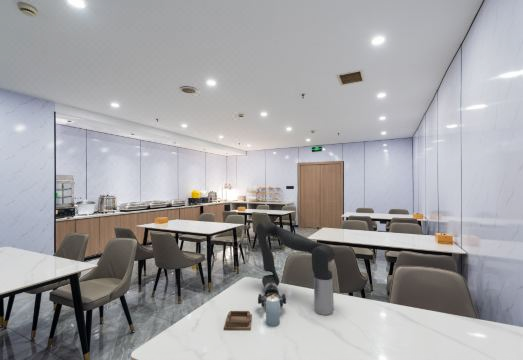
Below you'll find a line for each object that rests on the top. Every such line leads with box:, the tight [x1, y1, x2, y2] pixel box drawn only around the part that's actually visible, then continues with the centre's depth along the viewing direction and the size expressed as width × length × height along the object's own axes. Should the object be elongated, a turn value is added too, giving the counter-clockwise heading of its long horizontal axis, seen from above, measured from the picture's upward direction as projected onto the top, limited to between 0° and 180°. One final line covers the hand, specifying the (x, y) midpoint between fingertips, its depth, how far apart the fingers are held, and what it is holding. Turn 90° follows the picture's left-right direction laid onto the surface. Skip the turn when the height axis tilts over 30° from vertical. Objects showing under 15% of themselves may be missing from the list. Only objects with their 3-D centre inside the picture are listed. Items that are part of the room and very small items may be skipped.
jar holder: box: [223, 310, 253, 331], centre depth 115 cm, size 12×12×3 cm
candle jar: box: [265, 294, 281, 328], centre depth 115 cm, size 6×6×13 cm
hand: (272, 305), depth 119 cm, fingers open, 8 cm apart
